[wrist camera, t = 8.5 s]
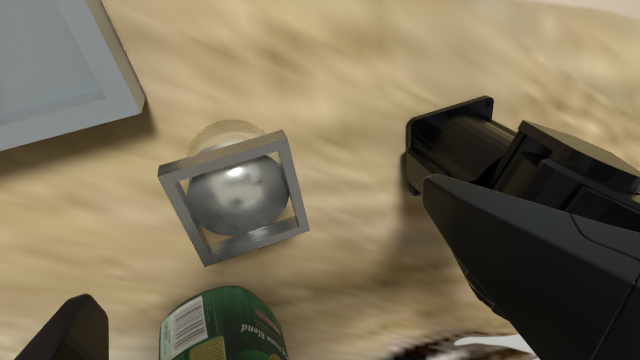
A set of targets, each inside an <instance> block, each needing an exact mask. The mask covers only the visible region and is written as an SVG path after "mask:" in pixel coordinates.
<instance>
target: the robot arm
mask: <svg viewBox="0 0 640 360" xmlns="http://www.w3.org/2000/svg"><path fill="white" fill-rule="evenodd" d="M486 102H487V103H486ZM485 103H486V104H485ZM493 104H494V100H493V98H491V97H489V96H482V97H479V98H476V99H472V100H469V101H466V102H463V103H459V104H456V105H453V106H450V107H446V108H443V109H440V110H437V111H433V112H430V113H427V114H423V115H420V116H417V117H414V118H412V119H411V120H410V121H409V123H408V149H407V152H406V161H407V180H408V181H409V192H410V193H411V194H412V195H413V196H418V195H421V194H422V201H423V205H424V208H425V209H426V211H427V212H428V214H429V216H430V217H431V219H432V220H433V222H434V223H435V225H436V227H437V228H438V230H439V231H440V233H441V234H442V236H443V238H444V239H445V241H446V242H447V244H448V245H449V247H450V248H451V250H452V252H453V254H454V256H455V258H456V260H457V262H458V264H459V266H460V268H461V270H462V272H463V274H464V276H465V278H466V280H467V282H468V284H469V286H470V287H471V289H472V290H473V292H474V293H475V295H476V297H477V298H478V299H479V300H480V301H482V302H483V303H485V304H486V305H487V306H488V307H489V308H491V310H492V311H493V312H494V313H495V314H497V315H499V316H501V317H502V318H504V319H506V320H508V321H509V322H510V323H511V324H512V325H513V327H514V328H515V329H516V330H517V332H518V333H519V334H520V335H521V337H522V338H523V339H524V340H525V341H526V342H527V344H528V345H529V346H530V348H531V349H532V350H533V351H534V353H535V354H536V355H537V356H538V358H539V359H540V360H640V171H638V170H637V169H635V168H634V167H632V166H631V165H629V164H628V163H626V162H625V161H623V160H622V159H620V158H619V157H617V156H616V155H614V154H613V153H611V152H609V151H606V150H604V149H602V148H600V147H597V146H595V145H593V144H590V143H588V142H586V141H583V140H581V139H579V138H577V137H574V136H572V135H569V134H566V133H562V132H559V131H556V130H553V129H550V128H547V127H544V126H541V125H538V124H534V123H531V122H528V121H525V120H523V121H522V122H521V124H520V125H519V127H518V129H519V130H518V132H515V131H513V130H511V129H509V128H507V127H505V126H503V125H502V124H500V123H498V122H496V121H494V120H492V112H493ZM416 123H417V126H416V127H414V125H415V124H416ZM415 189H416V190H415ZM14 360H109V324H108V317H107V314H106V313H105V311H104V310H103V309H102V308H101V307H100V305H99V304H98V303H97V302H96V301H95V300H94V298H93V297H92V296H91V295H89V294H82V295H79V296H76V297H73V298H70V299H68V300H67V301H66V302H65V303H64V304H63V305H62V306H61V307H60V309H59V310H58V311H57V312H56V313H55V314H54V315H53V316H52V318H51V319H50V320H49V321H48V322H47V323H46V324H45V325H44V327H43V328H42V329H41V330H40V331H39V332H38V333H37V334H36V336H35V337H34V338H33V339H32V340H31V341H30V342H29V343H28V345H27V346H26V347H25V348H24V349H23V350H22V351H21V352H20V354H19V355H18V356H17V357H16V358H15V359H14Z"/></svg>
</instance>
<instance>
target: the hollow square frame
mask: <svg viewBox="0 0 640 360" xmlns="http://www.w3.org/2000/svg"><path fill="white" fill-rule="evenodd" d="M276 151H278V155H279V158H280V160H279V158H278V156H277V153H276ZM158 179H159V181H160V183H161V184H162V186H163V188H164V190H165V192H166V194H167V196H168V198H169V200H170V202H171V204H172V205H173V207H174V209H175V211H176V213H177V215H178V217H179V219H180V221H181V223H182V225H183V226H184V228H185V230H186V232H187V234H188V236H189V238H190V240H191V242H192V244H193V245H194V247H195V249H196V251H197V253H198V255H199V257H200V259H201V261H202V263H203V265H204V266H205V267H206V266H209V265H212V264H215V263H218V262H221V261H224V260H227V259H230V258H232V257H235V256H238V255H241V254H244V253H247V252H250V251H253V250H255V249H258V248H261V247H264V246H267V245H270V244H273V243H276V242H279V241H281V240H284V239H287V238H290V237H293V236H296V235H299V234H302V233H304V232H307V231H310V229H309V225H308V221H307V217H306V213H305V209H304V205H303V201H302V196H301V192H300V188H299V184H298V180H297V176H296V172H295V168H294V164H293V160H292V156H291V152H290V147H289V143H288V139H287V137H286V135H285V133H284V132H283V130H279V131H276V132H273V133H269V134H265V133H264V132H263V131H262V130H261V129H260V128H258V127H257V126H255V125H253V124H250V123H248V122H244V121H239V120H225V121H220V122H217V123H214V124H212V125H210V126H208V127H206V128H205V129H203V130H202V131H201V132H199V133H198V134H197V136H196V137H195V138H194V139H193V141H192V142H191V144H190V147H189V150H188V154H187V158H184V159H181V160H177V161H174V162H170V163H167V164H164V165H160V166H159V169H158ZM184 179H187V197H186V195H185V192H184V190H183V188H182V186H181V184H180V182H179V181H181V180H184ZM289 195H290V199H291V203H292V207H293V210H294V214H295V216H294V217H291V218H288V219H285V220H282V221H279V222H276V223H273V224H271V223H272V222H273V221H274V220H275V219H276V218H277V217H278V216H279V215H280V214H281V213H282V211H283V210H284V208H285V206H286V204H287V202H288V198H289ZM200 224H201V225H202V226H203V227H205V228H206V229H208V230H210V231H213V232H215V233H219V234H223V235H238V236H235V237H232V238H229V239H226V240H223V241H220V242H217V243H214V244H211V245H210V244H209V242H208V240H207V238H206V236H205V234H204V232H203V230H202V228H201V225H200ZM269 224H270V225H269Z"/></svg>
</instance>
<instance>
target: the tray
mask: <svg viewBox="0 0 640 360" xmlns="http://www.w3.org/2000/svg"><path fill="white" fill-rule="evenodd" d="M145 98H146V95H145V93H144V91H143V89H142V86H141V84H140V82H139V80H138V78H137V76H136V74H135V72H134V69H133V67H132V65H131V63H130V61H129V59H128V57H127V55H126V52H125V50H124V48H123V46H122V44H121V42H120V40H119V38H118V35H117V33H116V31H115V29H114V27H113V25H112V23H111V21H110V18H109V16H108V14H107V12H106V10H105V8H104V6H103V4H102V1H101V0H0V151H2V150H6V149H10V148H13V147H17V146H21V145H25V144H28V143H32V142H36V141H40V140H43V139H47V138H51V137H55V136H58V135H62V134H66V133H70V132H73V131H77V130H81V129H85V128H88V127H92V126H96V125H99V124H103V123H107V122H111V121H114V120H118V119H122V118H126V117H129V116H133V115H137V114H141V112H142V108H143V105H144V101H145Z"/></svg>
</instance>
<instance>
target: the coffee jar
mask: <svg viewBox="0 0 640 360" xmlns="http://www.w3.org/2000/svg"><path fill="white" fill-rule="evenodd" d="M159 360H289V359H288V355H287V351H286V347H285V343H284V338H283V335H282V331H281V327H280V325H279V323H278V321H277V320H276V318H275V317H274V315H273V314H272V312H271V311H270V310H269V309H268V308H267V307H266V306H265V305H264V304H263V303H262V302H261V301H260V300H259V299H258V298H257V297H255V296H254V295H253V294H252V293H250V292H249V291H247V290H245V289H244V288H241V287H238V286H228V287H219V288H215V289H212V290H208V291H205V292H202V293H200V294H198V295H196V296H194V297H192V298H190V299H188V300H187V301H185V302H183V303H182V304H181V305H179V306H178V307H177V308H176V309H175V310H173V311H172V312H171V313H170V314H169V315H168V316H167V317H166V318H165V320H164V321H163V323H162V325H161V328H160V339H159Z"/></svg>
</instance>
